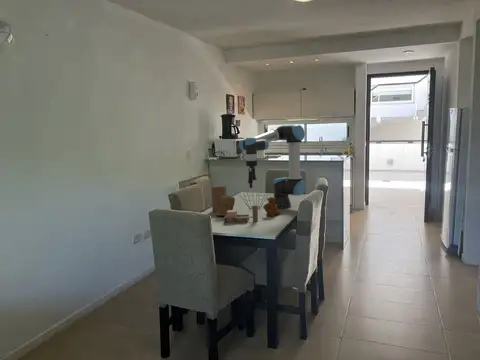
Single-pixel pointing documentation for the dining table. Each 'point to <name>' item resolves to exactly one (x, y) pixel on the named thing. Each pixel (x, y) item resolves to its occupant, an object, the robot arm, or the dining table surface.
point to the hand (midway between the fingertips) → (252, 190)
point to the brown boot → (225, 205)
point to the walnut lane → (236, 219)
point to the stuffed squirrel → (271, 207)
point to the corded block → (234, 215)
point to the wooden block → (217, 196)
